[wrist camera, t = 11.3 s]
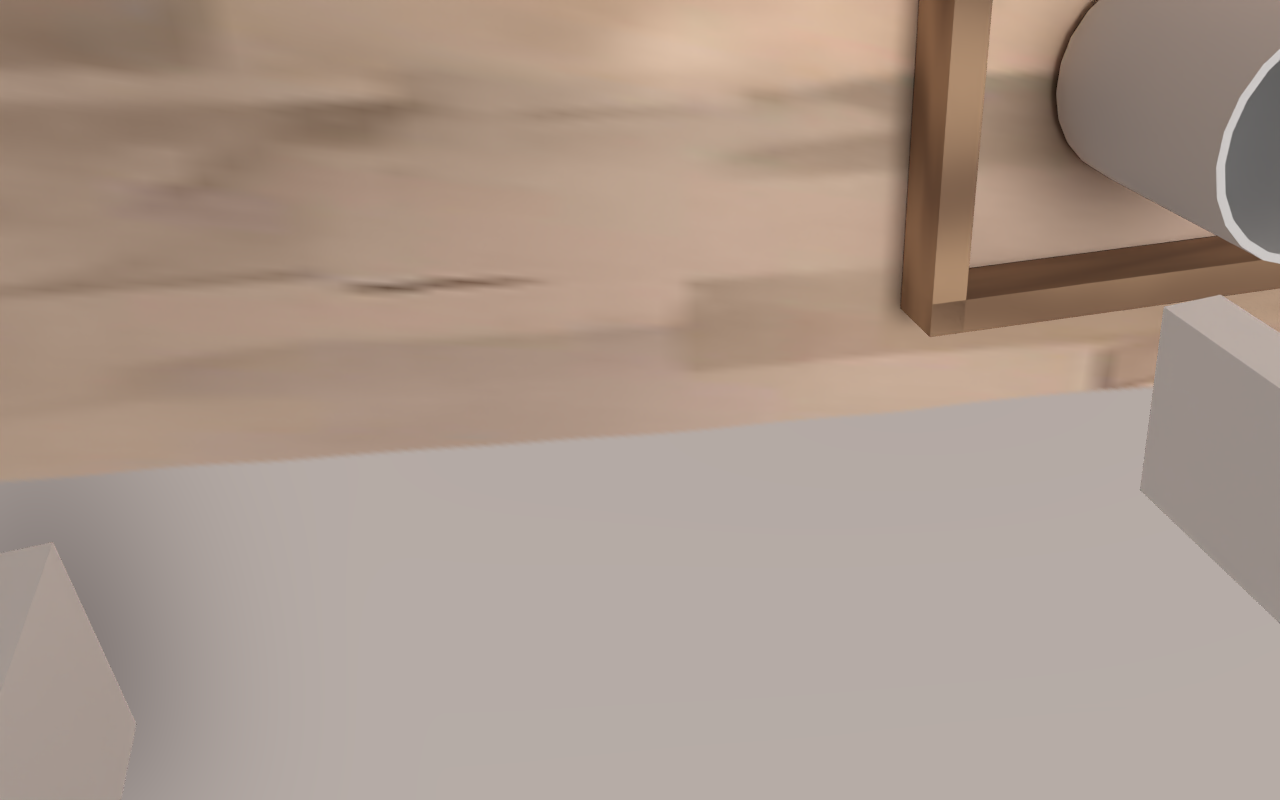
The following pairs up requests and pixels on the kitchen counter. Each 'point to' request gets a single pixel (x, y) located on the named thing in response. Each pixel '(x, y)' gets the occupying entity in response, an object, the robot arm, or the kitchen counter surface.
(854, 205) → the kitchen counter surface
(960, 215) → the bay
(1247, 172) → the cup
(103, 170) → the kitchen counter surface
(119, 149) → the kitchen counter surface
